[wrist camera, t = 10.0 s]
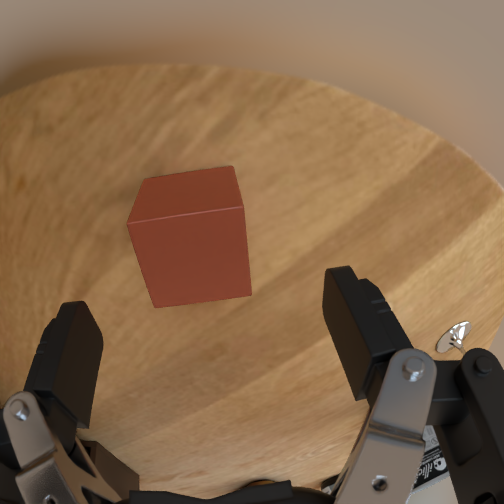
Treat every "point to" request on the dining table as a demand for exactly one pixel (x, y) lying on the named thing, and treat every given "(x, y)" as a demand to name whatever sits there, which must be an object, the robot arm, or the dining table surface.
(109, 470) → the cabinet
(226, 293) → the block
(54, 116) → the dining table surface
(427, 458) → the beverage can
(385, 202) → the dining table surface
